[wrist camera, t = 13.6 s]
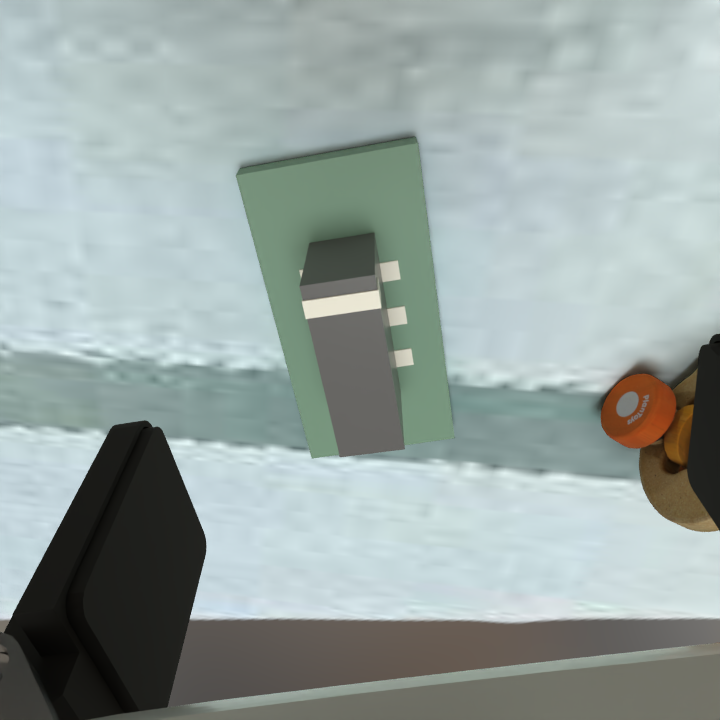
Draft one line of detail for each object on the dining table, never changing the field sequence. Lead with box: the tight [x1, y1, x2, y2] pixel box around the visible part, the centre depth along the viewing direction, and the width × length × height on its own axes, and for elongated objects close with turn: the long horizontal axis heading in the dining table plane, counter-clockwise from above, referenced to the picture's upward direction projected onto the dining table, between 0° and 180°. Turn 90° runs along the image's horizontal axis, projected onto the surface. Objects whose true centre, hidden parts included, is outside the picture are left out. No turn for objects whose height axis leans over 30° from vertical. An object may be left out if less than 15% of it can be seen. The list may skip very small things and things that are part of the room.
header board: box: [236, 137, 454, 458], centre depth 39 cm, size 20×10×6 cm, turn 10°
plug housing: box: [299, 233, 405, 457], centre depth 38 cm, size 11×4×6 cm, turn 10°
